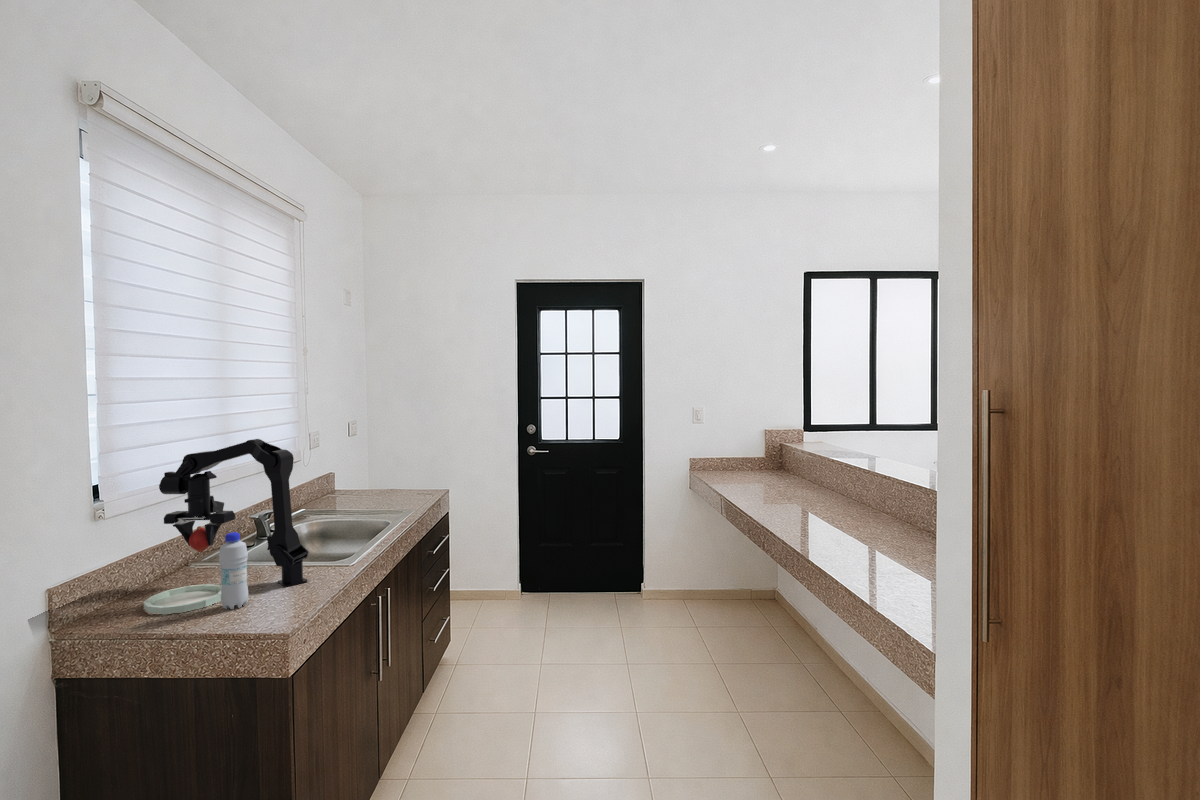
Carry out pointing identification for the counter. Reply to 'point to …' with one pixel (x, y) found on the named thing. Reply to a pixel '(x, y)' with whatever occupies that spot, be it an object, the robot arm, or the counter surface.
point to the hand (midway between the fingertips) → (200, 545)
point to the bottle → (233, 571)
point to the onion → (199, 540)
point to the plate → (183, 599)
